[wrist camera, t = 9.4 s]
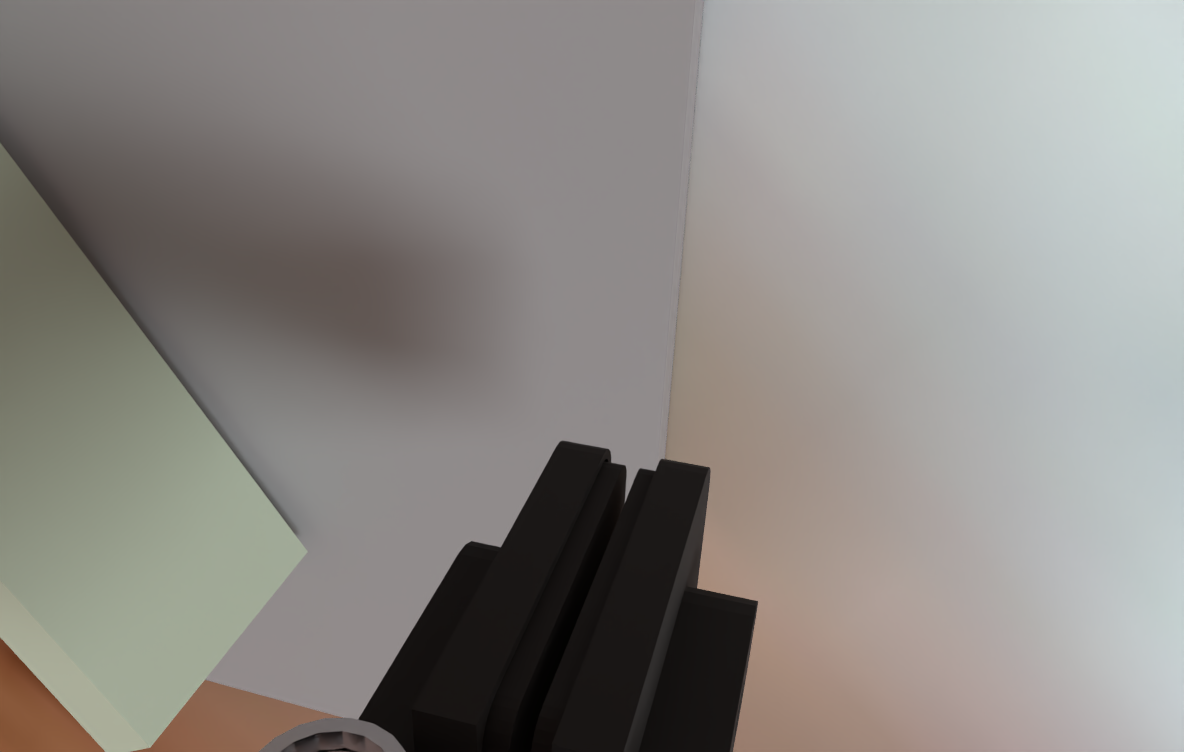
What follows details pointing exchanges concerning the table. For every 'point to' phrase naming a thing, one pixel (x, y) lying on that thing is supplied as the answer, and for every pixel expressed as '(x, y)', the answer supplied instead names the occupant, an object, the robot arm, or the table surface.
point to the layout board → (376, 262)
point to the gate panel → (113, 497)
